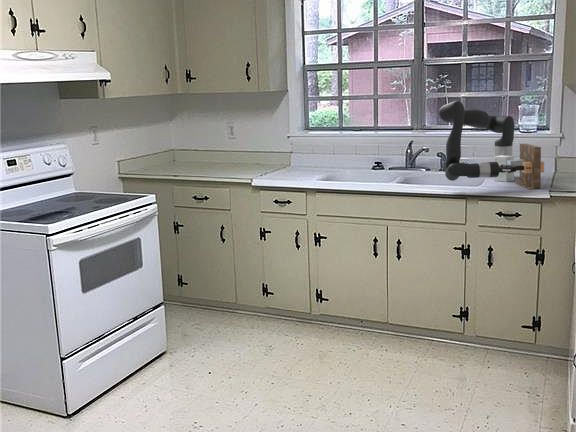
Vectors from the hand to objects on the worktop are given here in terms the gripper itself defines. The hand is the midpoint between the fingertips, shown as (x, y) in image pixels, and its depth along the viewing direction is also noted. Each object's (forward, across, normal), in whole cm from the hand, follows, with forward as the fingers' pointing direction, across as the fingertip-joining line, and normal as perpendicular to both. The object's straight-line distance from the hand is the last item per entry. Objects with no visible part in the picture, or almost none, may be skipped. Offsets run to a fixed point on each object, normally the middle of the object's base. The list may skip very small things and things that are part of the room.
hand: (523, 167), depth 319 cm
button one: (+1, +11, +2) cm, 11 cm away
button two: (+5, 0, +2) cm, 5 cm away
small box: (-1, +27, +10) cm, 29 cm away
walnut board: (+4, +5, +10) cm, 12 cm away
